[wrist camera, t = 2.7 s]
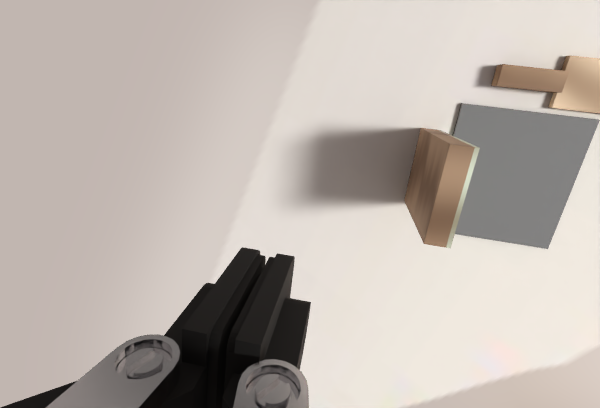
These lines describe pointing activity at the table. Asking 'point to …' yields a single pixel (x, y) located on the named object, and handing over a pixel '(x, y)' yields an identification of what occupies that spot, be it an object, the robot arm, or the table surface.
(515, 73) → the turner
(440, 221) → the brown wooden block
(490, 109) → the mat
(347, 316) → the table surface
